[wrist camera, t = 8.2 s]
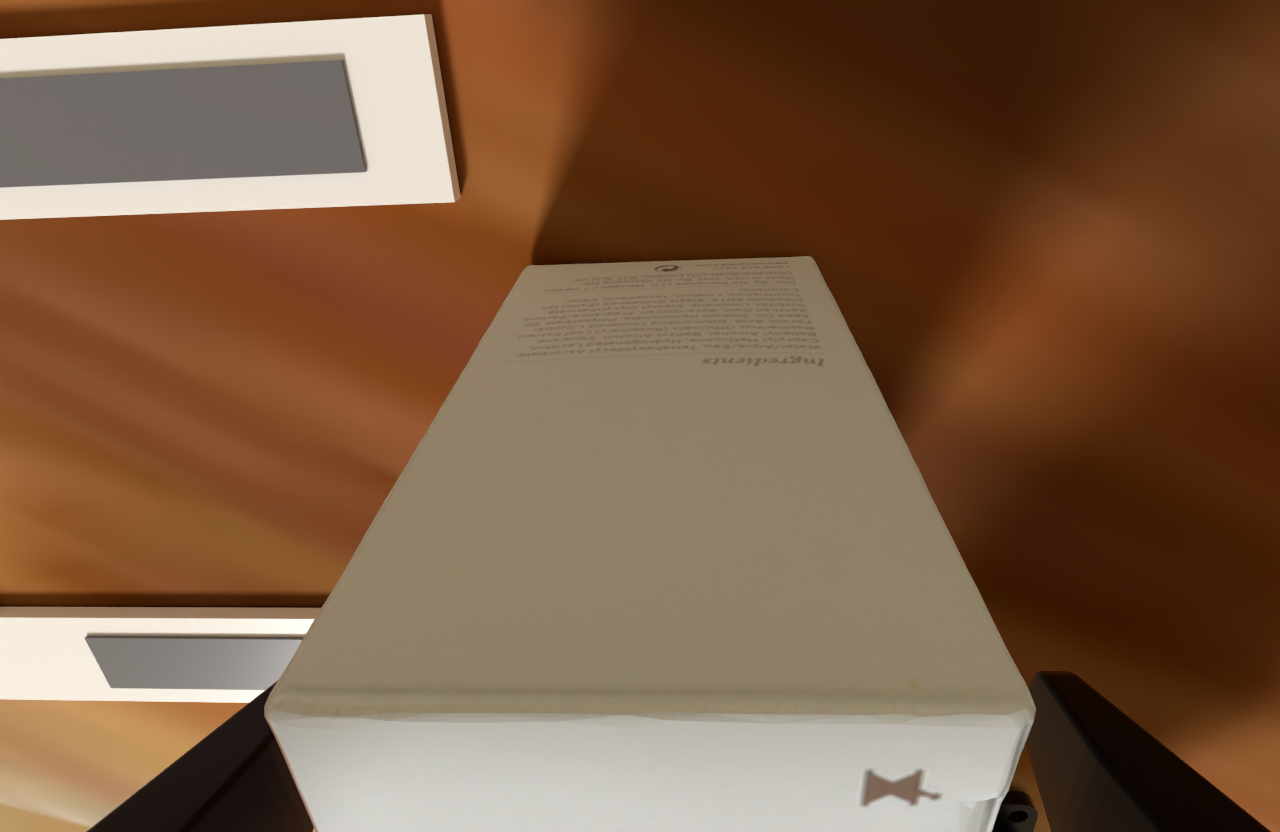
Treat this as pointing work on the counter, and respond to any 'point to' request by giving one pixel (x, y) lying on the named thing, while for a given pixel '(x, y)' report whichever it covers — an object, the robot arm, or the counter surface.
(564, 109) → the counter surface
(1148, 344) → the counter surface
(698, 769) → the small box
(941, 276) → the counter surface
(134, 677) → the bracket
